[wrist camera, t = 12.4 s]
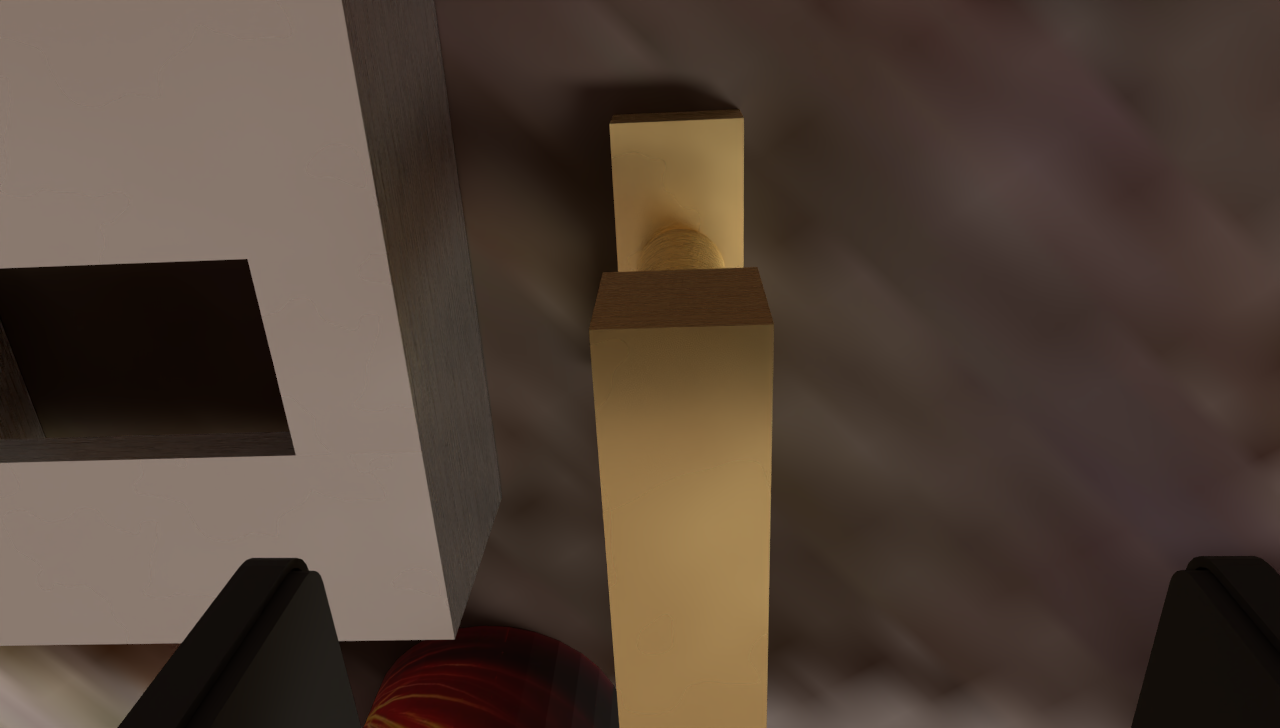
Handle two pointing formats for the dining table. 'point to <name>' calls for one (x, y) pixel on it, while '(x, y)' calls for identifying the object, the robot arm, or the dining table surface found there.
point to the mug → (494, 684)
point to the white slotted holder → (289, 304)
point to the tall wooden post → (684, 427)
